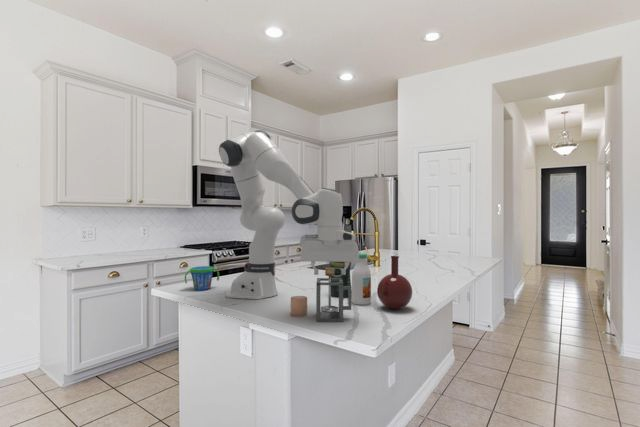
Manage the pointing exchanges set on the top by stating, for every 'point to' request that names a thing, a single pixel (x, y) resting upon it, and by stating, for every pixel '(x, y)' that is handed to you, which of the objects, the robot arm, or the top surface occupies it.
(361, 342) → the top surface
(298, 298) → the wooden block
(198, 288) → the snack cup
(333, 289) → the coffee jar
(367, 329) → the top surface
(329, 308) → the plunger
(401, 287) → the round-bottom flask
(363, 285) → the milk bottle
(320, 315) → the frame
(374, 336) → the top surface
